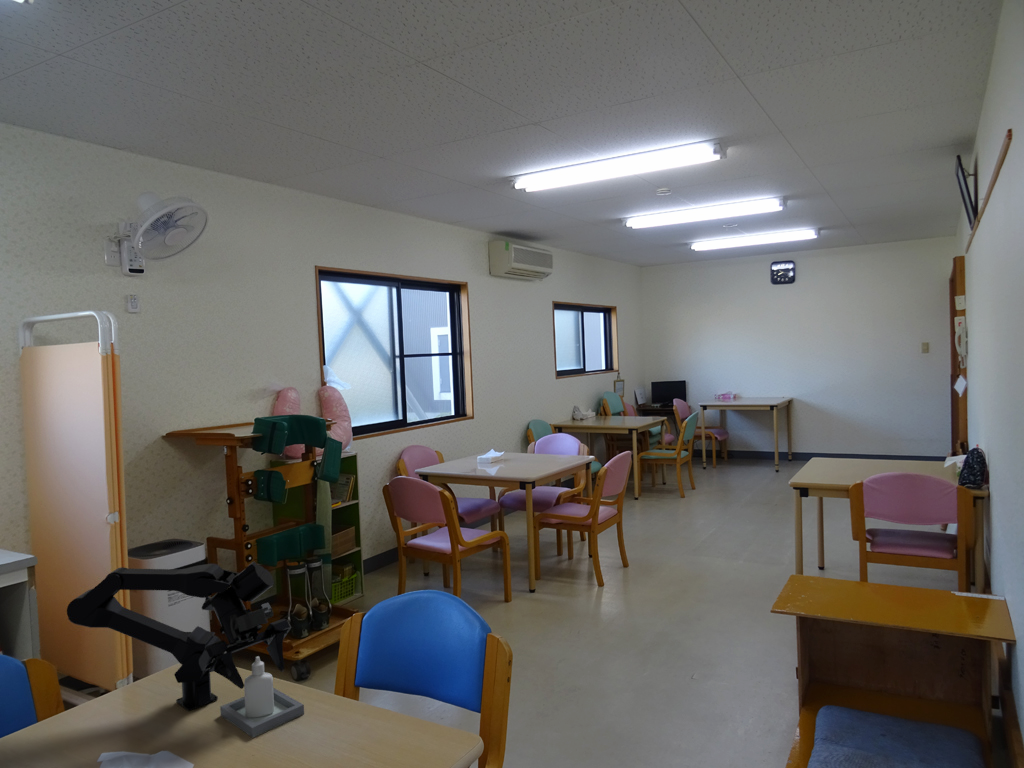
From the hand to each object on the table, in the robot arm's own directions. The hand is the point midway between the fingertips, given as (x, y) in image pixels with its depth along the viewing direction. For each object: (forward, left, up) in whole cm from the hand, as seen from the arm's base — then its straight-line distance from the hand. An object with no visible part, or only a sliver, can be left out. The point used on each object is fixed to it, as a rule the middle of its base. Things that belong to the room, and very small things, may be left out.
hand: (263, 678), depth 143 cm
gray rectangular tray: (-1, 0, -8) cm, 8 cm away
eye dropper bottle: (-1, 0, -8) cm, 8 cm away
